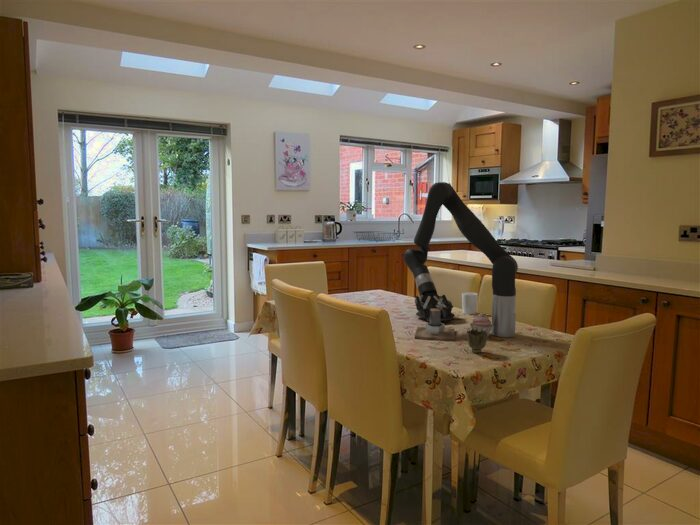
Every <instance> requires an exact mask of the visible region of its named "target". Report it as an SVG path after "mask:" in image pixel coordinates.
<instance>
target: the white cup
mask: <svg viewBox="0 0 700 525" xmlns="http://www.w3.org/2000/svg"><path fill="white" fill-rule="evenodd" d="M478 295H479V294H478V292H477V293H476V292H468V291H466V292H461V306H462V310H461V311H462V314H463V315H464V314H465V315H476V314H477V308H478V299H479V298H478Z"/></svg>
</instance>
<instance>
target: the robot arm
mask: <svg viewBox="0 0 700 525" xmlns="http://www.w3.org/2000/svg"><path fill="white" fill-rule="evenodd" d="M442 206H444V207H445V208H446V209H447V211H449V213H450V214H451V216H452V217H453V219H454V222H455V224H456V226H457V228H458V230H459V231H460V232H461V234H462V236H464V238H465V239H466V240H467V241H468V242H469V243H470V244H471V245H473V246H474V247H475V248H476V249H478V250H479V251H480V252H482V253H483V254H484V256H486V258H488V260H489V261H490V263H491V264H492V269H491V289H492V301H491V302H492V303H491V304H492V306H491V307H492V308H491V325H492V326H493V327H492V329H491V331H490V334H491V335H492V336H495V337H499V338H512V337H513V338H515V337H516V320H517V319H516V317H517V315H516V297H517V296H516V294H517V290H516V273H517V272H518V269H519V265H518V262H517V260H516V259H515V258H514V257H513V256H512V255H511V254H510V253H508V252H507V251H506V249H504V247H502V246H501V245H500V243H498V241H497V240H496V239H495V237H494V236H493V234H492V232H490V231H489V229H488V228H487V227H486V226H485V225H484V223H483V222H482V221H481V220H480V219H479V218H478V216H476V215H475V213H474V212H473V211H472V209H470V208H469V207H468V206H467V205H466V204H465V203H464V201H463V200H462V198H461V197H460V196H459V194H458V193H457V191H456V190H455V188H454V187H453V186H452V185H451V184H450V183H448V182H445V181H441V182H440V181H439V182H435V183H433V184H432V185H430V187H429V190H428V193H427V197H426V203H425V207H424V211H423V214H422V218H421V221H420V223H419V226H418V228H417V230H416V234H415V236H414V238H413V243H414V244H415V245H417V247H419V248H418V249H415V248H407V249H406V250H405V251H404V254H403V260H404V263H405V265H406V266H407V267H408V269H409V271H410V272H411V273H412V275H413V278H414V281H415V285H416V289H417V291H418V294H419V296H418V295H417V296H415V298H414V303H415V307H416V308H415V309H416V310H417V312H418V311H419V310H420V311H422V313H423V315H424V317H425V318H426V319H428V317H429V315H428V312H427V309H426V306H428V307H430V306H436V307H438V308H440V309H441V310H442V313H443V316H444V318H446V317H447V315H448V312H447V309H448V307H449V303H448V301H449V299H448V298H447V297H446V295H445V294H442V295H440V296H439V294H438V291H437V288H436V284H435V283H434V280H433V278H432V276H431V274H430V271H429V268H428V266H427V265H426V262H427V259H428V254H429V247H430V246H429V245H430V243H431V240H432V237H433V236H434V235H433V234H434V232H435V227H436V221H437V217H438V214H439V211H440V209H441V207H442ZM439 299H440V300H441V301H440V300H439ZM420 301H422V302H423V303H424V305H423V307H422V306H421V303H420ZM442 302H443V303H442ZM437 303H439V304H437ZM426 319H425V320H426Z"/></svg>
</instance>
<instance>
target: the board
mask: <svg viewBox="0 0 700 525" xmlns="http://www.w3.org/2000/svg"><path fill="white" fill-rule="evenodd" d="M414 339H416V340H431V341H432V340H433V341H446V342H447V341H449V342H455V340H456V339H455V328H446V327H444V334H441V335H431V334H428V333H426V326H425V327H424V326H417V327H416V330H415V334H414Z"/></svg>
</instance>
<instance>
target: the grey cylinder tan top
mask: <svg viewBox="0 0 700 525" xmlns="http://www.w3.org/2000/svg"><path fill="white" fill-rule="evenodd" d="M440 315H441V309H438V308H431V309H430V320H429V323H430V326H440V323H441V321H440Z"/></svg>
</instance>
